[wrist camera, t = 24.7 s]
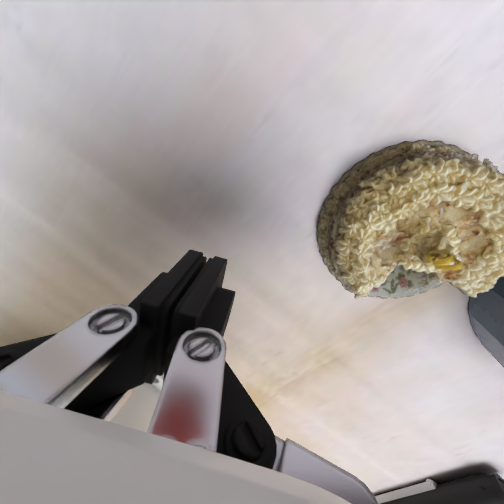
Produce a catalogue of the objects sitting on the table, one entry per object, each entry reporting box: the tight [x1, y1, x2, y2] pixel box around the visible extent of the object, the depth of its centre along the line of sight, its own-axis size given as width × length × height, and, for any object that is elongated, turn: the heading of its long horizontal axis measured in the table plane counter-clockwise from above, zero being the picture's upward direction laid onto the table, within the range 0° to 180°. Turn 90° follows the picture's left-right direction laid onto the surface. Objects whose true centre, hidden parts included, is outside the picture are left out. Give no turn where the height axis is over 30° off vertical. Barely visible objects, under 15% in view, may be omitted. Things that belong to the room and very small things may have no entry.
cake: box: [317, 140, 504, 298], centre depth 12 cm, size 10×10×5 cm
